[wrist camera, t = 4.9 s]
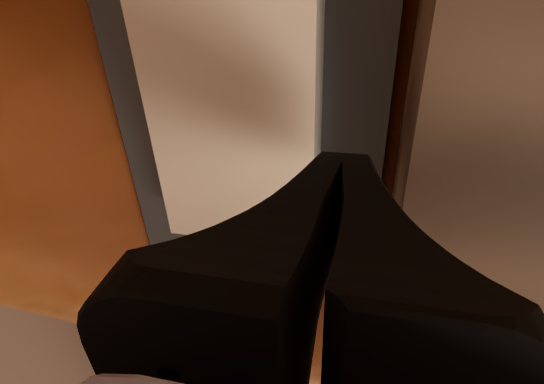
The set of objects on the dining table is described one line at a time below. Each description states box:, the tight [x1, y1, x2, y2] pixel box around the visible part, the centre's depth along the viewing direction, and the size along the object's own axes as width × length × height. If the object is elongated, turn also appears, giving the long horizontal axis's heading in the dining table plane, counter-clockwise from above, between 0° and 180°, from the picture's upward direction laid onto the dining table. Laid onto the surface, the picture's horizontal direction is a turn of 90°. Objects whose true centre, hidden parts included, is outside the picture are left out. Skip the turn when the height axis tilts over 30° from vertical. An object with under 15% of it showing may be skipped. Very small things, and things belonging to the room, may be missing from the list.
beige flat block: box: [120, 0, 325, 235], centre depth 15 cm, size 9×6×2 cm, turn 2°
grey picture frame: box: [87, 0, 403, 245], centre depth 16 cm, size 16×11×1 cm
